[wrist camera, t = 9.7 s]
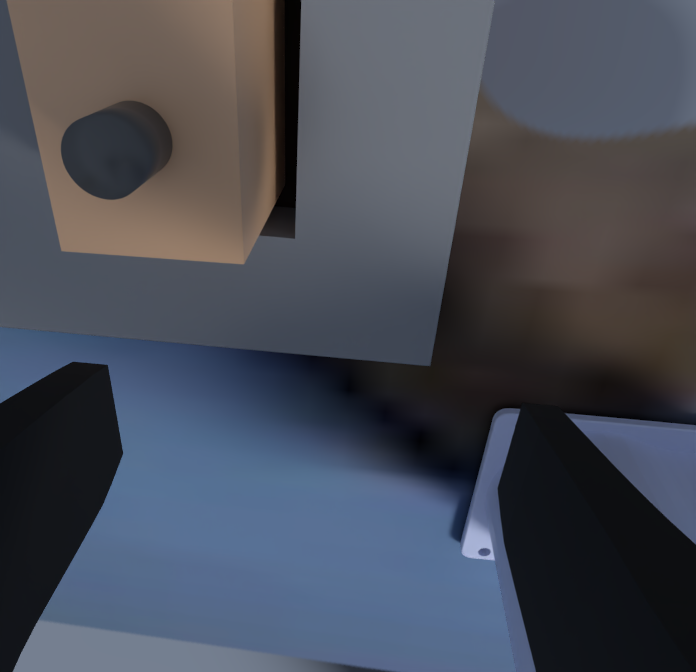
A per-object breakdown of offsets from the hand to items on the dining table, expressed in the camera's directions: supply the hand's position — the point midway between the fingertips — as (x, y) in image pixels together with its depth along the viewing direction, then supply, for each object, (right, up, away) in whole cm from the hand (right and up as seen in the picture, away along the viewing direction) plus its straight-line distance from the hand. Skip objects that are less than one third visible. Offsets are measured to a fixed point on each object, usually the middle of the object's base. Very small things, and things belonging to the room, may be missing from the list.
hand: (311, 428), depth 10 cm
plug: (-3, +9, +6) cm, 11 cm away
